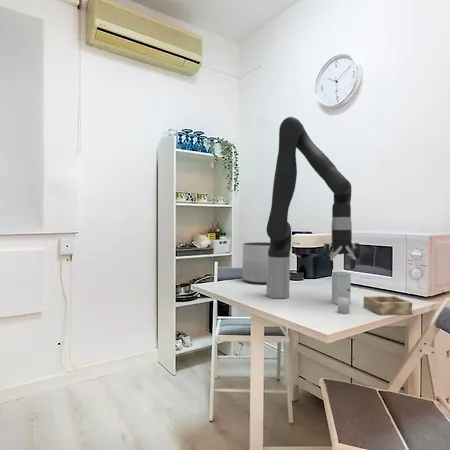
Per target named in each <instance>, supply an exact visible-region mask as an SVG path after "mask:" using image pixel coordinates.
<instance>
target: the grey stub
mask: <svg viewBox="0 0 450 450" xmlns="http://www.w3.org/2000/svg"><path fill="white" fill-rule="evenodd" d="M349 302H350V303H351V298H350V299H349V298H346V297H338V304H337V313H338V314H343V315H348V314H350V304H349Z"/></svg>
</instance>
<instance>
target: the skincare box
mask: <svg viewBox="0 0 450 450" xmlns="http://www.w3.org/2000/svg"><path fill="white" fill-rule="evenodd" d="M351 276H352V274H351V272H347V271H333V272H332V273H331V303H333V304H334V305H338V297H346V298H349V299H350V300H351V283H352V281H351V280H352V279H351ZM349 305H351V301H350V302H349Z"/></svg>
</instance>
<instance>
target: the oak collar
mask: <svg viewBox="0 0 450 450" xmlns="http://www.w3.org/2000/svg"><path fill="white" fill-rule="evenodd" d="M363 308H365V309H366V310H368V311H370V312H372V313H374V314H376V315H378V316H385V315H386V316H387V315H391V316H392V315H395V316H396V315H413V302H411V301H408V300H407V299H403V298H401V297H398V296H396V295H387V296H386V295H380V296H379V295H378V296H377V295H375V296H363Z"/></svg>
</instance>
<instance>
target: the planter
mask: <svg viewBox="0 0 450 450" xmlns="http://www.w3.org/2000/svg"><path fill="white" fill-rule="evenodd" d="M269 247H270V242H261V241H260V242H245V243H242V268H241V269H242V270H241V271H242V272H241V274H242V276H241V277H242V280H243V281H244V282H247V283H249V284H254V285H267V273H268V250H269Z"/></svg>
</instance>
